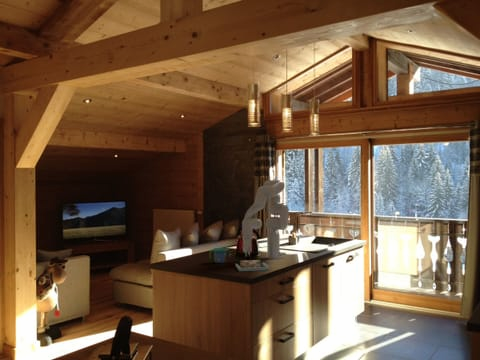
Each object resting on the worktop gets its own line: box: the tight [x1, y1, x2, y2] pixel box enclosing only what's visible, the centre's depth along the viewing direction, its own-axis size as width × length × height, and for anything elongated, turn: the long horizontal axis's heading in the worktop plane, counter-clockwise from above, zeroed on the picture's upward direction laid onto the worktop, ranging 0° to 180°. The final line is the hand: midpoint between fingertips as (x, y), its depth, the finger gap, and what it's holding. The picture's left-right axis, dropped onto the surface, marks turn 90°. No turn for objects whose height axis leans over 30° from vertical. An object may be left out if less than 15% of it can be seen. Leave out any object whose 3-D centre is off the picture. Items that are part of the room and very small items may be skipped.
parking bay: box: [235, 262, 270, 272], centre depth 318 cm, size 20×17×2 cm
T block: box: [239, 259, 262, 268], centre depth 320 cm, size 14×14×4 cm
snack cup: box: [209, 247, 232, 264], centre depth 340 cm, size 16×11×10 cm
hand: (247, 261), depth 335 cm, fingers closed
